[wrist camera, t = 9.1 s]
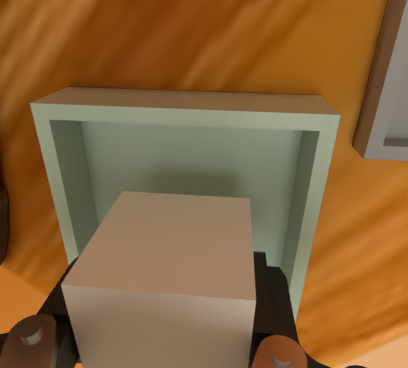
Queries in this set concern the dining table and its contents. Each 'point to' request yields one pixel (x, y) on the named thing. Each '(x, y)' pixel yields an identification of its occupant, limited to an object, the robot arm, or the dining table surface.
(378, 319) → the dining table surface
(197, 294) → the beige block
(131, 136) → the bin
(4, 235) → the hand tool
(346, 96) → the dining table surface
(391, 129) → the bin
